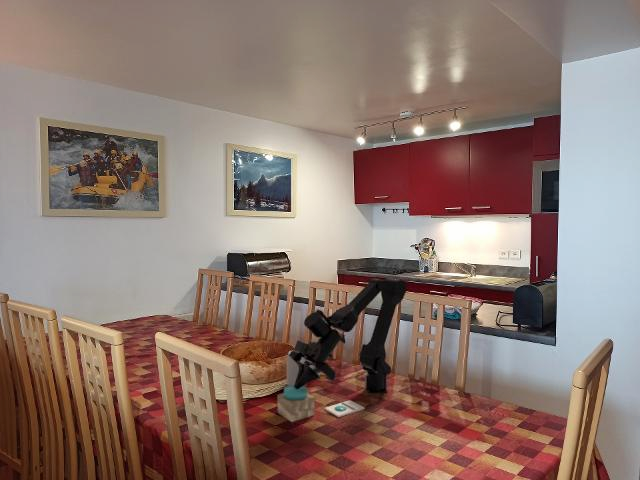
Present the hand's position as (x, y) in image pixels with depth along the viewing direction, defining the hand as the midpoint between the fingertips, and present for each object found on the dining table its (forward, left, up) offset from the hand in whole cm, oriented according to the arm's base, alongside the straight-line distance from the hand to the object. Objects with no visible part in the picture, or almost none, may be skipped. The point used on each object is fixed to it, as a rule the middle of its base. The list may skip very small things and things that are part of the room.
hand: (295, 388), depth 137 cm
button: (0, 0, -5) cm, 5 cm away
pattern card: (-15, -2, -8) cm, 17 cm away
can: (-1, -24, -8) cm, 25 cm away
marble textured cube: (0, 0, -8) cm, 8 cm away
